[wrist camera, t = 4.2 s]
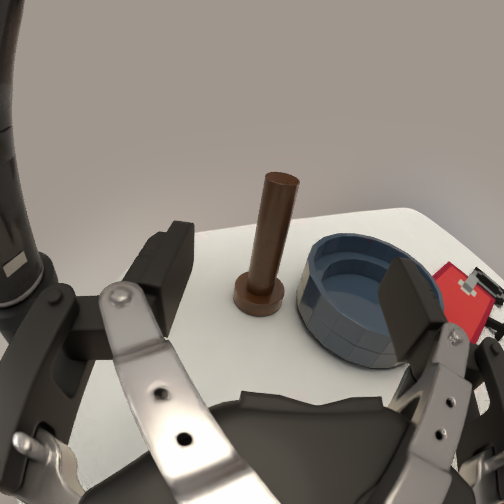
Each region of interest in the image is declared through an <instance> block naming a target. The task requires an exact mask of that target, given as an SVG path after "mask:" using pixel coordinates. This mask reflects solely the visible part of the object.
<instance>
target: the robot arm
mask: <svg viewBox="0 0 504 504" xmlns="http://www.w3.org/2000/svg"><path fill="white" fill-rule="evenodd" d="M24 2H25V0H0V309H9V308H12V307H15V306H17V305H19V304H21V303H23V302H24V301H26V300H27V299H28V298H29V297H31V296H32V295H33V294H34V293H35V291H36V290H37V289H38V287H39V286H40V284H41V282H42V280H43V277H44V272H45V270H44V265H43V262H42V260H41V258H40V256H39V253H38V250H37V247H36V244H35V240H34V237H33V234H32V230H31V227H30V223H29V219H28V216H27V211H26V208H25V204H24V199H23V194H22V190H21V185H20V180H19V174H18V168H17V161H16V154H15V147H14V138H13V126H12V92H13V70H14V60H15V52H16V46H17V41H18V35H19V30H20V25H21V20H22V15H23V9H24ZM193 262H194V223H190V222H182V221H173V223H172V224H171V226H170V227H169V229H168V231H167V232H158V233H156V234H155V235H153V236H152V237H150V238H149V239H148V240H147V242H146V243H145V245H144V247H143V249H142V250H141V251H140V253H139V256H137V257H136V259H135V260H134V262H133V264H132V265H131V267H130V268H129V270H128V272H127V273H126V275H125V276H124V278H123V280H122V281H120V282H115V283H112V284H110V285H109V286H107V287H106V288H105V289H104V290H103V291H102V292H101V294H100V295H97V296H76V295H75V292H74V290H73V288H72V287H71V286H69V285H68V284H64V283H57V284H53V285H50V286H48V287H47V288H45V289H44V290H43V291H42V292H41V293H40V294H39V296H38V297H37V299H36V300H35V302H34V303H33V305H32V306H31V308H30V310H29V311H28V313H27V314H26V316H25V318H24V319H23V321H22V323H21V324H20V326H19V328H18V329H17V331H16V333H15V335H14V336H13V338H12V340H11V342H10V344H9V346H8V348H7V349H6V351H5V353H4V355H3V357H2V359H1V361H0V492H1V493H3V494H5V495H8V496H12V497H14V498H18V499H19V500H21V501H22V502H24V503H25V504H502V503H504V351H503V349H502V347H501V345H500V344H499V343H498V342H497V341H496V340H495V339H493V338H491V337H486V338H485V339H484V340H483V341H482V342H481V343H480V344H479V345H477V344H474V343H471V342H469V338H468V336H467V334H466V332H465V331H464V330H463V329H462V328H461V327H460V326H458V325H457V324H455V323H451V322H448V320H447V318H446V316H445V314H444V312H443V310H442V308H441V306H440V304H439V302H438V300H437V299H436V296H435V294H434V292H432V288H431V287H430V285H429V283H428V281H427V280H426V279H425V278H424V277H423V276H422V275H421V274H420V272H419V270H418V269H417V267H416V265H415V263H414V262H413V260H411V259H407V258H401V257H395V258H393V260H392V261H391V263H390V265H389V267H388V269H387V271H386V273H385V275H384V277H383V279H382V281H381V283H380V285H379V289H378V300H379V303H380V306H381V309H382V312H383V315H384V318H385V321H386V324H387V327H388V331H389V334H390V337H391V340H392V344H393V347H394V351H395V354H396V358H397V361H398V362H409V363H410V366H409V367H408V368H407V369H406V371H405V373H404V375H403V377H402V379H401V382H400V384H399V386H398V388H397V390H396V392H395V394H394V396H393V398H392V400H391V402H390V404H389V405H388V407H384V406H383V403H382V398H381V397H351V398H348V399H344V400H340V401H336V402H332V403H328V404H324V405H312V404H308V403H305V402H301V401H298V400H295V399H291V398H288V397H285V396H281V395H275V394H265V393H255V392H247V391H241V395H240V399H239V400H235V401H228V402H223V403H220V404H217V405H214V406H211V407H209V408H207V406H206V404H205V403H204V401H203V399H202V398H201V396H200V394H199V393H198V391H197V389H196V387H195V386H194V384H193V382H192V380H191V379H190V377H189V375H188V373H187V371H186V370H185V368H184V366H183V364H182V362H181V360H180V359H179V357H178V355H177V353H176V351H175V349H174V347H173V345H172V344H171V342H170V341H169V340H165V338H164V337H167V338H168V335H169V332H170V329H171V327H172V324H173V321H174V318H175V315H176V312H177V310H178V307H179V304H180V301H181V299H182V296H183V293H184V290H185V288H186V285H187V282H188V280H189V277H190V274H191V271H192V267H193ZM96 360H113V363H114V366H115V369H116V372H117V375H118V378H119V381H120V383H121V386H122V389H123V391H124V394H125V397H126V399H127V402H128V404H129V407H130V409H131V412H132V414H133V416H134V419H135V421H136V423H137V426H138V428H139V430H140V432H141V434H142V437H143V439H144V441H145V443H146V445H147V447H148V449H149V451H147V452H146V453H144V454H143V455H141V456H140V457H139V458H137V459H136V460H134V461H133V462H131V463H130V464H128V465H127V466H125V467H124V468H122V469H121V470H119V471H118V472H116V473H115V474H113V475H112V476H110V477H108V478H107V479H105V480H104V481H102V482H100V483H99V484H97V485H95V486H94V487H92V488H90V489H89V490H88V491H86V492H85V490H84V489H83V488H82V486H81V485H80V483H79V480H78V475H77V469H78V465H77V459H76V457H75V454H74V453H73V451H72V450H71V449H70V448H69V447H68V442H69V439H70V435H71V432H72V428H73V425H74V421H75V418H76V415H77V412H78V409H79V406H80V402H81V399H82V396H83V394H84V391H85V388H86V385H87V382H88V379H89V377H90V374H91V371H92V368H93V366H94V363H95V361H96ZM483 382H485V385H486V388H487V392H488V395H489V399H490V405H489V408H488V410H487V411H486V412H485V413H484V414H482V415H481V416H480V413H479V409H478V405H477V401H476V398H475V394H474V390H475V389H476V388H477V387H478V386H479V385H481V384H482V383H483ZM455 452H456V457H457V465H458V472H457V471H456V470H455V469H454V468H453V467H452V466H451V464H452V461H453V458H454V455H455Z"/></svg>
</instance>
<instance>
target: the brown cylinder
mask: <svg viewBox="0 0 504 504" xmlns="http://www.w3.org/2000/svg"><path fill="white" fill-rule="evenodd" d="M299 183H300V182H299V180H298V179H297V178H296V177H294V176H292V175H289V174H286V173H281V172H270V173H267V174H266V176H265V181H264V187H263V193H262V198H261V204H260V210H259V215H258V221H257V227H256V233H255V239H254V244H253V250H252V256H251V262H250V267H249V272H246V273H243V274H242V275H240V276H239V277H238V278H237V280H236V282H235V287H234V295H233V298H234V302H235V304H236V305H237V306H238V308H239V309H241V310H242V311H243V312H245V313H247V314H250V315H253V316H268V315H271V314H273V313H275V312H276V311H277V310H278V309H279V308H280V306H281V302H282V299H283V296H284V286H283V284H282V283H281V281H280V280H279V279H278V278H276V277H277V274H278V270H279V266H280V262H281V258H282V254H283V250H284V246H285V242H286V238H287V234H288V230H289V226H290V221H291V217H292V213H293V208H294V205H295V200H296V196H297V192H298V188H299Z"/></svg>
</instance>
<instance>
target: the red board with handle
mask: <svg viewBox="0 0 504 504" xmlns="http://www.w3.org/2000/svg"><path fill="white" fill-rule="evenodd" d="M432 277H433V278H434V280H435V282H436V283H437V285H438V287H439V289H440V291H441V293H442V297H443V302H444V306H445V309H444V314H445V316H446V318H447V320H448V322H451V323H455V324H457V325H458V326H460V327H461V328H462V329H463V330H464V331H465V332H466V334H467V336H468V338H469V342H471V343H474V344H476V342H477V340H478V338H479V336H480V334H481V332H482V330H483V328H484V326H485V325H486V326H488V327H490V328H492V329H494V330H496V331H497V332H496V335H495V339H496V340H497V341H498V342H499V340H500V339H501V338H502V337H503V336H504V323H503V324H502V323H500V322H498V321H496V320H494V319H492V318H490V317H489V315H490V312H491V310H492V307H493V305H494V303H495V300H496V301H497V302H498V303H499V304H500V305H501V306H502V305H503V302H504V290H503V289H502V288H501V287H500V286H499V285H498V284H497V283H495V282H494V281H493V280H492V279H491V278H490V277H488V276H487V275H486V274H485V273H483V272H482V271H481V270H480V269H479V268H477V267H476V268H475V269H474V271H473V272H472V273H471V274H470V276H469V277H468V276H467V275H466V274H465V273H463V272H462V271H461V270H460V269H458V268H457V267H456V266H454V265H453V264H452V263H451V262H448V263H446V264H445V265H444V266H443V267H442V268H441V269H440V270H439V271H438V272H436V273H435V274H434V275H433V276H432Z"/></svg>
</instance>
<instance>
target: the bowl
mask: <svg viewBox="0 0 504 504" xmlns="http://www.w3.org/2000/svg"><path fill="white" fill-rule="evenodd" d="M395 257H401V258H407V259H411V260H413V262H414V263H415V265H416V267H417V269H418V270H419V272H420V274H421V275H422V276H423V277H424V278H425V279H426V280H427V281H428V283H429V285H430V287H431V288H432V292H434V294H435V296H436V299H437V300H438V302H439V304H440V306H441V308H442V310H443V312H444V309H445V306H444V302H443V297H442V293H441V291H440V289H439V287H438V285H437V283H436V282H435V280H434V278H433V277H432V276H431V275H430V273H429V272H428V271H427V270H426V269H425V268H424V267H423V266H422V265H421V264H420V263H419V262H418V261H417V260H415V259H414V258H413V257H411V256H410V255H409V254H408V253H406V252H404V251H402V250H401V249H399V248H397V247H395V246H394V245H392V244H390V243H387V242H385V241H382V240H379V239H377V238H374V237H370V236H365V235H360V234H355V233H338V234H334V235H330V236H326V237H323V238H322V239H321V240H319V241H318V242H317V243H315V244H314V245H313V246H312V248H311V251H310V253H309V256H308V258H307V261H306V265H305V268H304V271H303V274H302V277H301V280H300V283H299V286H298V289H297V303H298V310H299V312H300V314H301V316H302V318H303V320H304V323H305V325H306V327H307V328H308V329H309V330H310V332H311V333H312V334H313V335H314V336H315V337H316V338H317V339H318V341H319V342H320V343H321V344H322V345H323V346H324V347H326V348H327V349H329V350H330V351H332V352H333V353H335V354H336V355H338V356H339V357H341V358H343V359H344V360H347V361H350V362H353V363H356V364H359V365H362V366H365V367H369V368H391V367H394V366H397V365H400V364H402V363H405V362H398V361H397V358H396V354H395V351H394V347H393V344H392V340H391V337H390V334H389V331H388V327H387V324H386V321H385V318H384V315H383V312H382V309H381V306H380V303H379V300H378V289H379V285H380V283H381V281H382V279H383V277H384V275H385V273H386V271H387V269H388V267H389V265H390V263H391V261H392V260H393V258H395Z"/></svg>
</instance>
